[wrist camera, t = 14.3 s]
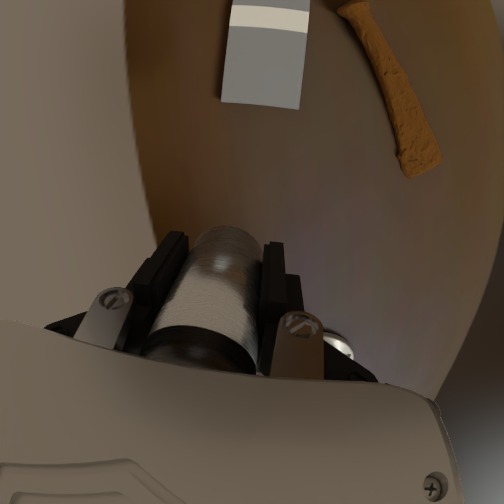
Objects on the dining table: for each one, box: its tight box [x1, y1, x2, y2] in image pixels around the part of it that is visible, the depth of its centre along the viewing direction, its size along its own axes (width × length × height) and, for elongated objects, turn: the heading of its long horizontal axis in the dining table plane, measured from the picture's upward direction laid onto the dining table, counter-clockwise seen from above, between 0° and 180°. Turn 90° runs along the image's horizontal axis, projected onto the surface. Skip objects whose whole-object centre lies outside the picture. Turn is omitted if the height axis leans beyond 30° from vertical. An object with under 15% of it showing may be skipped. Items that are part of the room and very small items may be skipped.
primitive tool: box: [337, 0, 442, 178], centre depth 20 cm, size 19×6×4 cm, turn 32°
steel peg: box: [138, 226, 263, 375], centre depth 9 cm, size 3×3×8 cm
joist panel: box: [221, 0, 310, 110], centre depth 19 cm, size 18×7×1 cm, turn 174°
